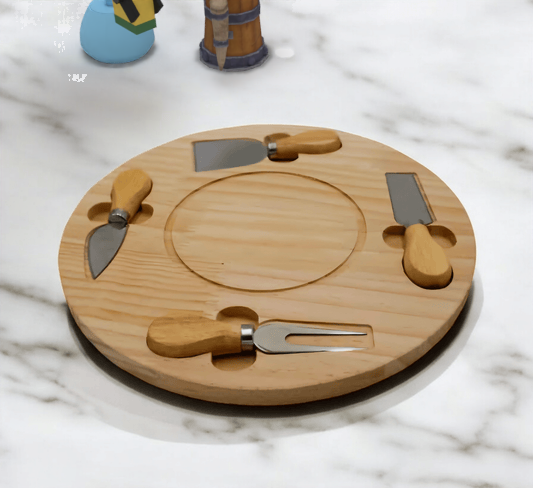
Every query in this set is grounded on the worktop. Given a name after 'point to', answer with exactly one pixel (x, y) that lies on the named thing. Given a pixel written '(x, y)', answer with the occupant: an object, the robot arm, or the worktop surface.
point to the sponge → (143, 22)
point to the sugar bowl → (111, 36)
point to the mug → (232, 35)
